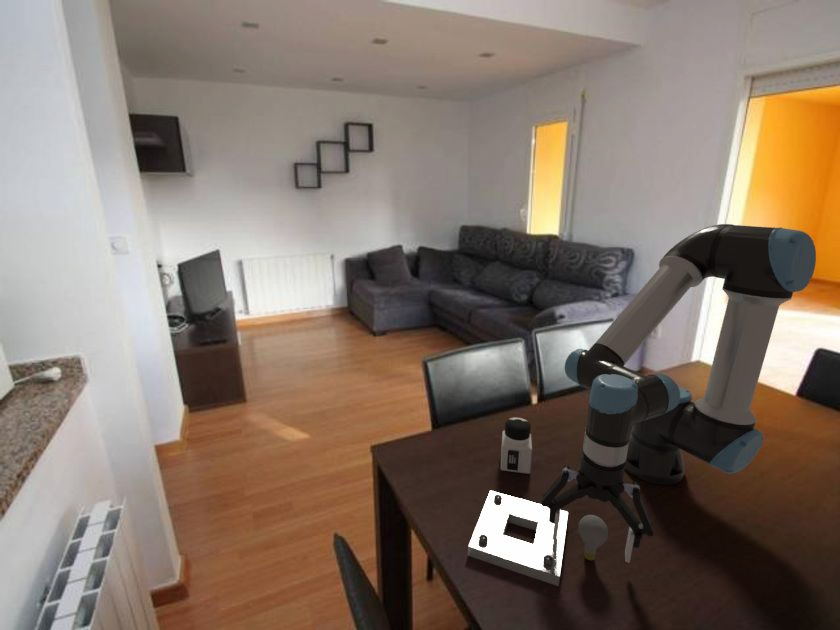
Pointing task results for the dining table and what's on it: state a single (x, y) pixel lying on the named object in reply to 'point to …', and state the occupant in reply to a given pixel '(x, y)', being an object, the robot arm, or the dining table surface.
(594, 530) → the light bulb
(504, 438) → the container
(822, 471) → the dining table surface
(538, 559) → the flange
